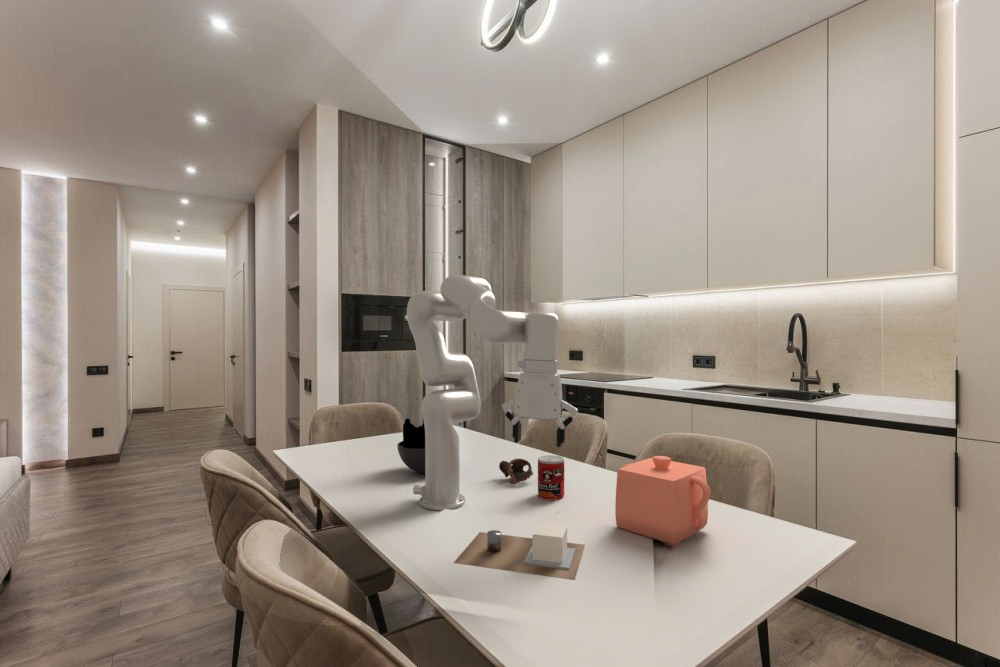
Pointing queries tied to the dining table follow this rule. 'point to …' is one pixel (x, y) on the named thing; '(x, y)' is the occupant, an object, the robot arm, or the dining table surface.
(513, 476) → the pottery mug
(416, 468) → the coal bowl
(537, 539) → the cream cube
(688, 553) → the dining table surface
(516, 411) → the robot arm
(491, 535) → the post
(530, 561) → the pad
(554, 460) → the canned food
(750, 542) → the dining table surface
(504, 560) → the base board
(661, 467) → the teapot
